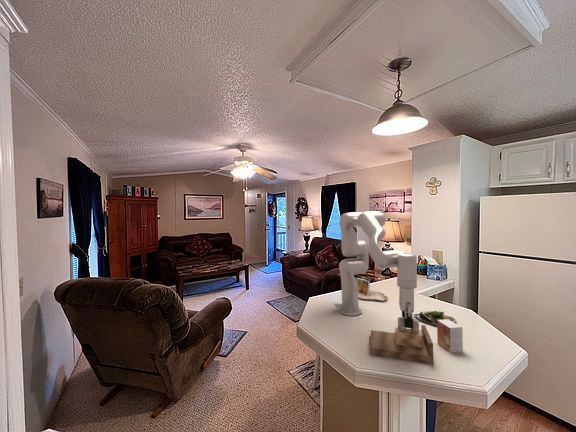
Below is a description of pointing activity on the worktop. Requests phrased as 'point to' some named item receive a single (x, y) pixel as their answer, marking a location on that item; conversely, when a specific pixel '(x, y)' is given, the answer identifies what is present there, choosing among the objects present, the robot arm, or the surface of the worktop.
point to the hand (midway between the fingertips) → (407, 322)
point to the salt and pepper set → (408, 334)
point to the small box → (450, 336)
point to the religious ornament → (365, 293)
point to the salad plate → (433, 317)
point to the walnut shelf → (401, 347)
